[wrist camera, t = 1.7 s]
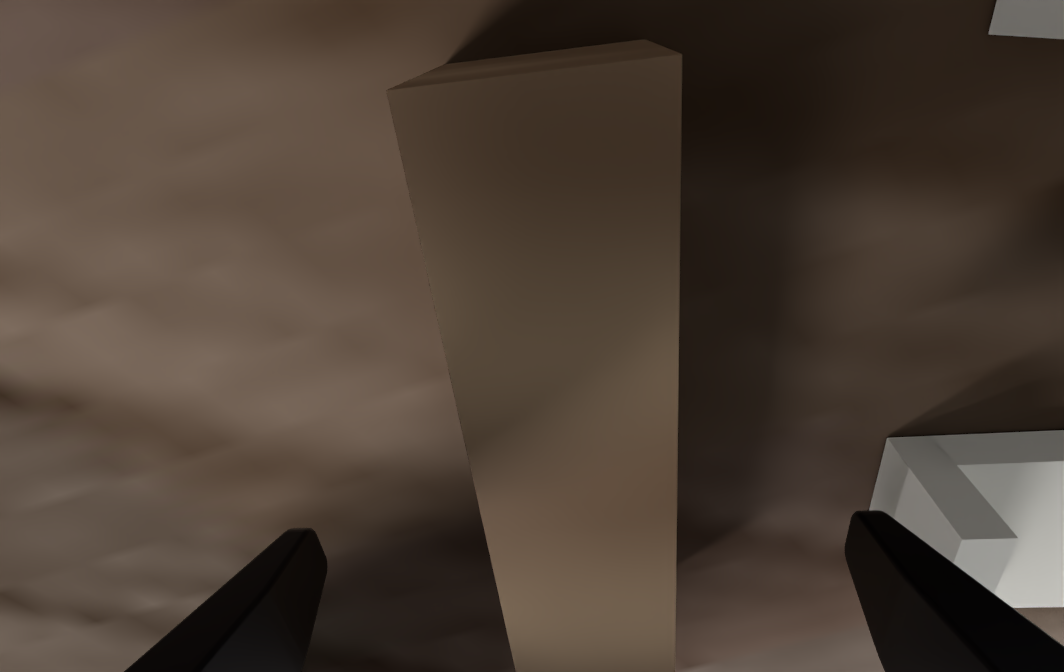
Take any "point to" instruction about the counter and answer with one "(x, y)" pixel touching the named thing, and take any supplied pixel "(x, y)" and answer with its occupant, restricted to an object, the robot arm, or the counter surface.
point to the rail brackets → (988, 460)
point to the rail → (561, 332)
